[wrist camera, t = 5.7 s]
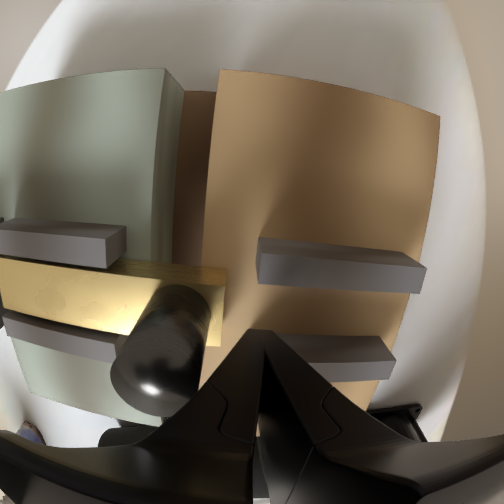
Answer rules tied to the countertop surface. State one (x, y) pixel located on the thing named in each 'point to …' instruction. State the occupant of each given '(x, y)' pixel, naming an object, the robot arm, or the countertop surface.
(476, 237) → the countertop surface
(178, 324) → the bolt
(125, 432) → the drinking cup
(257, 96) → the frame
